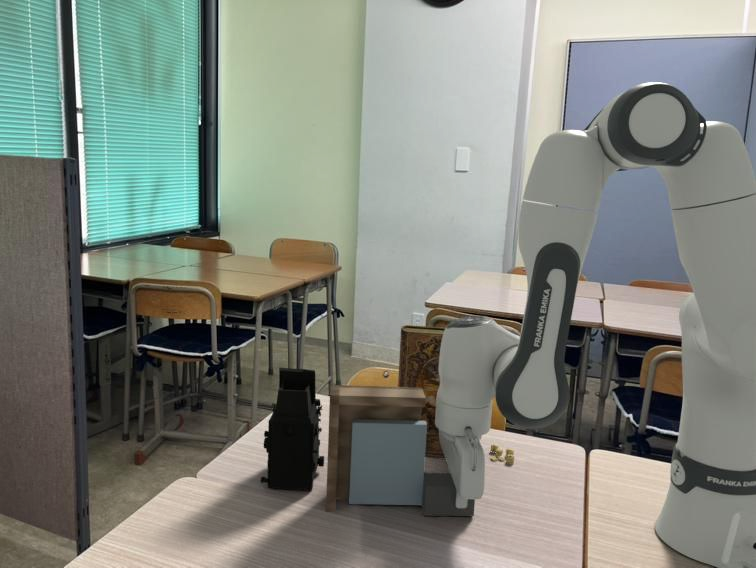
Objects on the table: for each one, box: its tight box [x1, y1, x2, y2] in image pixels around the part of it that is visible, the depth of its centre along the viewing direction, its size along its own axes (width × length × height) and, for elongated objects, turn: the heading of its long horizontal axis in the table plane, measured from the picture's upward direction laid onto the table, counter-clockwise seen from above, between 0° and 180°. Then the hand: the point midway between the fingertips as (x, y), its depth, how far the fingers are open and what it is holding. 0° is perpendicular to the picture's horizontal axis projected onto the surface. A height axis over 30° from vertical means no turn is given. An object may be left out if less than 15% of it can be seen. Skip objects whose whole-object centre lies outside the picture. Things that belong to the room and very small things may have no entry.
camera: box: [260, 367, 325, 492], centre depth 107 cm, size 10×14×20 cm
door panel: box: [348, 419, 427, 506], centre depth 98 cm, size 12×2×14 cm, turn 93°
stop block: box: [421, 472, 476, 517], centre depth 98 cm, size 8×4×5 cm, turn 93°
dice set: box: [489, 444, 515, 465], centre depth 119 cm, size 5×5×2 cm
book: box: [397, 324, 481, 460], centre depth 118 cm, size 16×6×25 cm, turn 84°
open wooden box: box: [325, 384, 426, 512], centre depth 98 cm, size 15×5×20 cm, turn 93°
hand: (457, 496), depth 98 cm, fingers closed on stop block, 4 cm apart
